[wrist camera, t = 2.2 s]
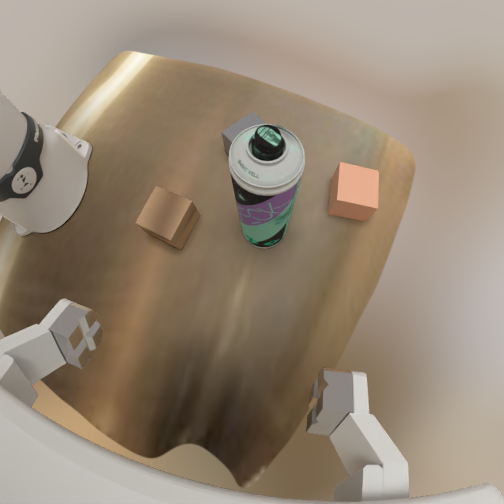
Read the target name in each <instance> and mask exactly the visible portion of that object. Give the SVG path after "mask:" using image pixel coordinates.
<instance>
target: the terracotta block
mask: <svg viewBox="0 0 504 504" xmlns="http://www.w3.org/2000/svg"><path fill="white" fill-rule="evenodd" d="M378 185H379V171H377V170H373V169H369V168H364V167H360V166H356V165H351V164H347V163H342V162H340V163H339V165H338V167H337V169H336V171H335V173H334V175H333V177H332V179H331V189H330V199H329V209H328V214H330V215H335V216H340V217H345V218H350V219H355V220H360V221H366V220H367V219H368V218H369V217H370V216H371V215H372V214H373V213H374V212H375V211H376V210H377V209H378Z"/></svg>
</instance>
